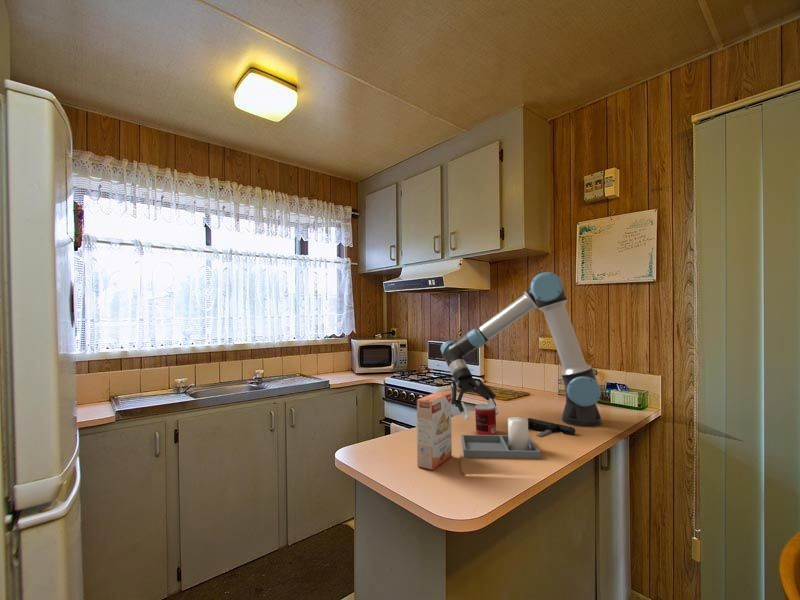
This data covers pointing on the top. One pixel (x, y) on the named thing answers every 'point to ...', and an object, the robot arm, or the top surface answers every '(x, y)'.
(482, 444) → the caddy
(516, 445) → the ceramic jar
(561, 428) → the toy submachine gun
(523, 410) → the top surface
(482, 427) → the canned food
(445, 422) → the cracker box
